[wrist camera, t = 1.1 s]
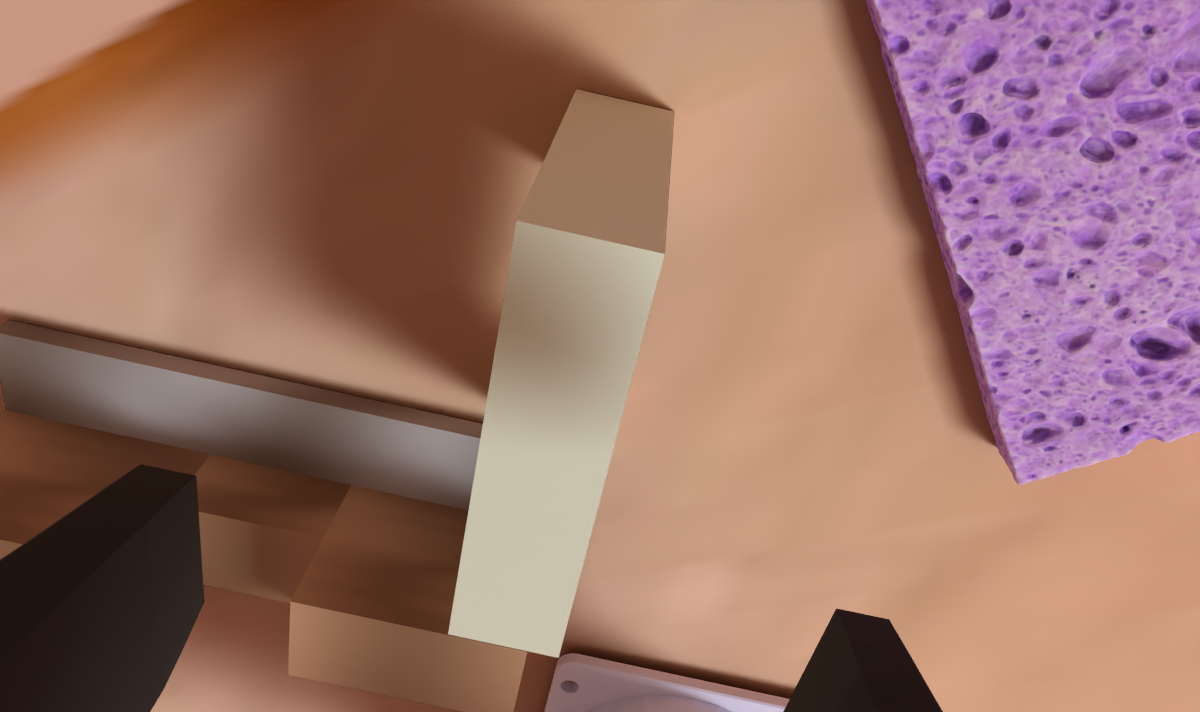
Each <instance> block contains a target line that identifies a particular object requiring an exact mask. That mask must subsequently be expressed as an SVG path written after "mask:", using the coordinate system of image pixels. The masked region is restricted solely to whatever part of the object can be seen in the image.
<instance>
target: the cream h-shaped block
mask: <svg viewBox="0 0 1200 712" xmlns="http://www.w3.org/2000/svg"><path fill="white" fill-rule="evenodd" d="M674 113H675V112H674V111H670V110H665V109H661V108H657V107H652V106H648V105H644V104H639V103H635V102H631V101H626V100H622V99H617V98H613V97H609V96H604V95H600V94H596V93H591V92H587V91H583V90H578V89H576V91H575V93H574V95H573V98H572V100H571V102H570V104H569V106H568V109H567V111H566V113H565V115H564V117H563V120H562V122H561V124H560V126H559V128H558V131H557V133H556V135H555V137H554V139H553V142H552V144H551V146H550V148H549V150H548V153H547V155H546V157H545V159H544V161H543V164H542V166H541V168H540V170H539V172H538V175H537V177H536V179H535V181H534V183H533V186H532V188H531V190H530V192H529V194H528V197H527V199H526V201H525V203H524V205H523V208H522V210H521V212H520V214H519V216H518V219H517V221H516V227H515V233H514V239H513V245H512V251H511V257H510V263H509V269H508V275H507V281H506V287H505V293H504V299H503V305H502V312H501V318H500V324H499V330H498V336H497V342H496V348H495V354H494V360H493V366H492V372H491V378H490V384H489V390H488V396H487V402H486V408H485V414H484V420H483V426H482V432H481V438H480V444H479V450H478V456H477V462H476V468H475V475H474V481H473V487H472V493H471V499H470V505H469V511H468V517H467V523H466V529H465V535H464V541H463V547H462V553H461V559H460V565H459V571H458V577H457V583H456V589H455V595H454V601H453V607H452V613H451V619H450V625H449V631H448V634H449V635H454V636H458V637H463V638H468V639H472V640H477V641H482V642H486V643H491V644H496V645H500V646H505V647H510V648H514V649H519V650H524V651H529V652H533V653H538V654H543V655H547V656H552V657H557V658H559V654H560V651H561V647H562V643H563V639H564V635H565V632H566V628H567V624H568V620H569V616H570V613H571V609H572V605H573V601H574V597H575V594H576V590H577V586H578V582H579V578H580V575H581V571H582V567H583V563H584V559H585V555H586V552H587V548H588V544H589V540H590V536H591V533H592V529H593V525H594V521H595V517H596V514H597V510H598V506H599V502H600V498H601V495H602V491H603V487H604V483H605V479H606V476H607V472H608V468H609V464H610V460H611V457H612V453H613V449H614V445H615V441H616V437H617V434H618V430H619V426H620V422H621V418H622V415H623V411H624V407H625V403H626V399H627V396H628V392H629V388H630V384H631V380H632V377H633V373H634V369H635V365H636V361H637V358H638V354H639V350H640V346H641V342H642V339H643V335H644V331H645V327H646V323H647V319H648V316H649V312H650V308H651V304H652V300H653V297H654V293H655V289H656V285H657V281H658V278H659V274H660V270H661V266H662V262H663V259H664V255H665V242H666V228H667V214H668V199H669V185H670V170H671V156H672V142H673V127H674Z"/></svg>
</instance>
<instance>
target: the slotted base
mask: <svg viewBox="0 0 1200 712" xmlns="http://www.w3.org/2000/svg"><path fill="white" fill-rule="evenodd" d="M0 380H1V385H2V391H3V397H4V403H5V409H6V410H5V411H4V412H3V413H1V414H0V559H2V558H3V557H5V556H6V555H8V554H9V553H11V552H12V551H14V550H15V549H17V548H18V547H20V546H21V545H23V544H24V543H25V542H27V541H28V540H30V539H31V538H33V537H34V536H36V535H37V534H39V533H40V532H42V531H43V530H44V529H46V528H47V527H49V526H50V525H52V524H53V523H55V522H56V521H58V520H59V519H61V518H62V517H63V516H65V515H66V514H68V513H69V512H71V511H72V510H74V509H75V508H76V507H78V506H79V505H81V504H82V503H84V502H85V501H87V500H88V499H89V498H91V497H92V496H94V495H95V494H97V493H98V492H100V491H101V490H102V489H104V488H105V487H107V486H108V485H110V484H111V483H113V482H114V481H116V480H117V479H119V478H120V477H122V476H123V475H125V474H126V473H128V472H129V471H131V470H132V469H134V468H135V467H137V466H139V465H140V464H143V465H148V466H152V467H157V468H162V469H167V470H172V471H176V472H181V473H186V474H191V475H196V477H197V493H198V509H199V525H200V541H201V557H202V573H203V585H205V586H210V587H215V588H220V589H224V590H229V591H234V592H238V593H243V594H248V595H252V596H257V597H262V598H266V599H271V600H276V601H280V602H285V603H290V625H289V655H288V675H290V676H295V677H299V678H304V679H309V680H314V681H318V682H323V683H328V684H333V685H337V686H342V687H347V688H351V689H356V690H361V691H366V692H370V693H375V694H380V695H385V696H389V697H394V698H399V699H404V700H408V701H413V702H418V703H422V704H427V705H432V706H437V707H441V708H446V709H451V710H456V711H460V712H514V707H515V703H516V699H517V695H518V690H519V686H520V682H521V678H522V673H523V669H524V665H525V661H526V656H527V652H528V651H524V650H519V649H514V648H510V647H505V646H500V645H496V644H491V643H486V642H482V641H477V640H472V639H468V638H463V637H458V636H454V635H449V634H448V631H449V625H450V619H451V613H452V607H453V601H454V595H455V589H456V583H457V577H458V571H459V565H460V559H461V553H462V547H463V541H464V535H465V529H466V523H467V517H468V511H469V505H470V499H471V493H472V487H473V481H474V475H475V468H476V462H477V456H478V450H479V444H480V438H481V432H482V426H483V424H482V423H477V422H472V421H468V420H463V419H459V418H454V417H450V416H445V415H440V414H436V413H431V412H427V411H422V410H418V409H413V408H409V407H404V406H399V405H395V404H390V403H386V402H381V401H377V400H372V399H368V398H363V397H358V396H354V395H349V394H345V393H340V392H336V391H331V390H327V389H322V388H317V387H313V386H308V385H304V384H299V383H295V382H290V381H285V380H281V379H276V378H272V377H267V376H263V375H258V374H254V373H249V372H244V371H240V370H235V369H231V368H226V367H222V366H217V365H213V364H208V363H203V362H199V361H194V360H190V359H185V358H181V357H176V356H171V355H167V354H162V353H158V352H153V351H149V350H144V349H140V348H135V347H130V346H126V345H121V344H117V343H112V342H108V341H103V340H99V339H94V338H89V337H85V336H80V335H76V334H71V333H67V332H62V331H58V330H53V329H48V328H44V327H39V326H35V325H30V324H26V323H21V322H16V321H12V320H8V321H7V322H5V323H4V324H2V325H1V326H0Z"/></svg>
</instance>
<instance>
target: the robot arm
mask: <svg viewBox="0 0 1200 712" xmlns="http://www.w3.org/2000/svg"><path fill="white" fill-rule="evenodd" d="M203 603H204V589H203V573H202V557H201V541H200V525H199V509H198V493H197V477H196V475H191V474H186V473H181V472H176V471H172V470H167V469H162V468H157V467H152V466H148V465H143V464H140V465H139V466H137V467H135V468H134V469H132V470H131V471H129V472H128V473H126V474H125V475H123V476H122V477H120V478H119V479H117V480H116V481H114V482H113V483H111V484H110V485H108V486H107V487H105V488H104V489H102V490H101V491H100V492H98V493H97V494H95V495H94V496H92V497H91V498H89V499H88V500H87V501H85V502H84V503H82V504H81V505H79V506H78V507H76V508H75V509H74V510H72V511H71V512H69V513H68V514H66V515H65V516H63V517H62V518H61V519H59V520H58V521H56V522H55V523H53V524H52V525H50V526H49V527H47V528H46V529H44V530H43V531H42V532H40V533H39V534H37V535H36V536H34V537H33V538H31V539H30V540H28V541H27V542H25V543H24V544H23V545H21V546H20V547H18V548H17V549H15V550H14V551H12V552H11V553H9V554H8V555H6V556H5V557H3V558H2V559H0V712H150V711H151V709H152V708H153V706H154V704H155V703H156V701H157V699H158V698H159V696H160V694H161V692H162V691H163V689H164V687H165V685H166V683H167V681H168V679H169V677H170V675H171V673H172V671H173V669H174V667H175V664H176V662H177V660H178V658H179V656H180V654H181V652H182V650H183V648H184V646H185V643H186V641H187V639H188V637H189V634H190V632H191V630H192V628H193V626H194V623H195V621H196V619H197V617H198V615H199V612H200V610H201V608H202V606H203ZM567 680H568V681H567ZM569 681H573V682H569ZM544 712H943V711H942V710H941V708H940V706H939V705H938V703H937V701H936V699H935V698H934V696H933V694H932V693H931V691H930V689H929V687H928V686H927V684H926V682H925V680H924V679H923V677H922V675H921V673H920V672H919V670H918V668H917V667H916V665H915V663H914V661H913V660H912V658H911V656H910V654H909V653H908V651H907V649H906V648H905V646H904V644H903V642H902V641H901V639H900V637H899V636H898V634H897V632H896V631H895V629H894V627H893V625H892V624H891V622H890V620H889V619H884V618H879V617H874V616H869V615H864V614H860V613H855V612H850V611H845V610H840V609H836V610H835V612H834V614H833V616H832V618H831V620H830V622H829V624H828V626H827V628H826V630H825V632H824V634H823V636H822V637H821V639H820V641H819V643H818V645H817V647H816V649H815V651H814V653H813V655H812V657H811V659H810V661H809V663H808V665H807V667H806V669H805V671H804V672H803V674H802V676H801V678H800V680H799V682H798V684H797V686H796V688H795V690H794V692H793V694H792V696H791V698H790V699H787V698H783V697H778V696H773V695H769V694H764V693H759V692H755V691H750V690H745V689H741V688H736V687H731V686H727V685H722V684H717V683H713V682H708V681H703V680H699V679H694V678H689V677H684V676H680V675H675V674H670V673H666V672H661V671H656V670H652V669H647V668H642V667H638V666H633V665H628V664H624V663H619V662H614V661H610V660H605V659H600V658H595V657H591V656H586V655H581V654H576V653H570V654H565V655H563V656H561V657H560V658H559V660H558V661H557V664H556V668H555V672H554V676H553V680H552V683H551V687H550V691H549V695H548V699H547V703H546V706H545V710H544Z"/></svg>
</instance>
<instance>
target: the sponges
mask: <svg viewBox="0 0 1200 712" xmlns="http://www.w3.org/2000/svg"><path fill="white" fill-rule="evenodd" d="M865 1H866V4H867V7H868V10H869V13H870V17H871V20H872V23H873V25H874V28H875V31H876V33H877V35H878V37H879V40H880V48H881V54H882V58H883V63H884V65H885V68H886V70H887V73H888V77H889V80H890V84H891V86H892V89H893V91H894V94H895V99H896V103H897V106H898V109H899V113H900V115H901V118H902V120H903V124H904V128H905V131H906V133H907V136H908V142H909V146H910V149H911V152H912V154H913V156H914V159H915V163H916V169H917V175H918V177H919V180H920V182H921V185H922V188H923V192H924V196H925V199H926V203H927V206H928V209H929V213H930V216H931V219H932V222H933V227H934V231H935V234H936V237H937V239H938V243H939V247H940V251H941V254H942V258H943V261H944V265H945V268H946V271H947V274H948V276H949V280H950V286H951V290H952V294H953V297H954V299H955V301H956V304H957V307H958V311H959V315H960V319H961V322H962V327H963V333H964V336H965V339H966V343H967V346H968V350H969V354H970V357H971V360H972V364H973V368H974V370H975V374H976V377H977V383H978V386H979V388H980V394H981V397H982V400H983V403H984V407H985V411H986V415H987V418H988V421H989V424H990V427H991V430H992V432H993V434H994V438H995V444H996V447H997V448H998V450H999V453H1000V455H1001V456H1002V457H1003V459H1004V460H1005V462H1006V464H1007V466H1008V467H1009V469H1010V471H1011V472H1012V474H1013V477H1014V480H1015V481H1016V482H1017V484H1019V485H1023V484H1026V483H1028V482H1031V481H1034V480H1039V479H1043V478H1046V477H1049V476H1053V475H1056V474H1059V473H1062V472H1066V471H1068V470H1070V469H1073V468H1080V467H1085V466H1090V465H1092V464H1095V463H1097V462H1100V461H1104V460H1107V459H1111V458H1115V457H1120V456H1123V455H1126V454H1128V453H1130V452H1131V451H1132V450H1133V448H1134V447H1135V446H1136V445H1137V444H1139V443H1141V442H1142V441H1144V440H1147V439H1151V438H1154V439H1158V440H1161V441H1163V442H1172V441H1174V440H1176V439H1178V438H1180V437H1184V436H1187V435H1189V434H1192V433H1196V432H1200V0H865Z"/></svg>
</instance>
